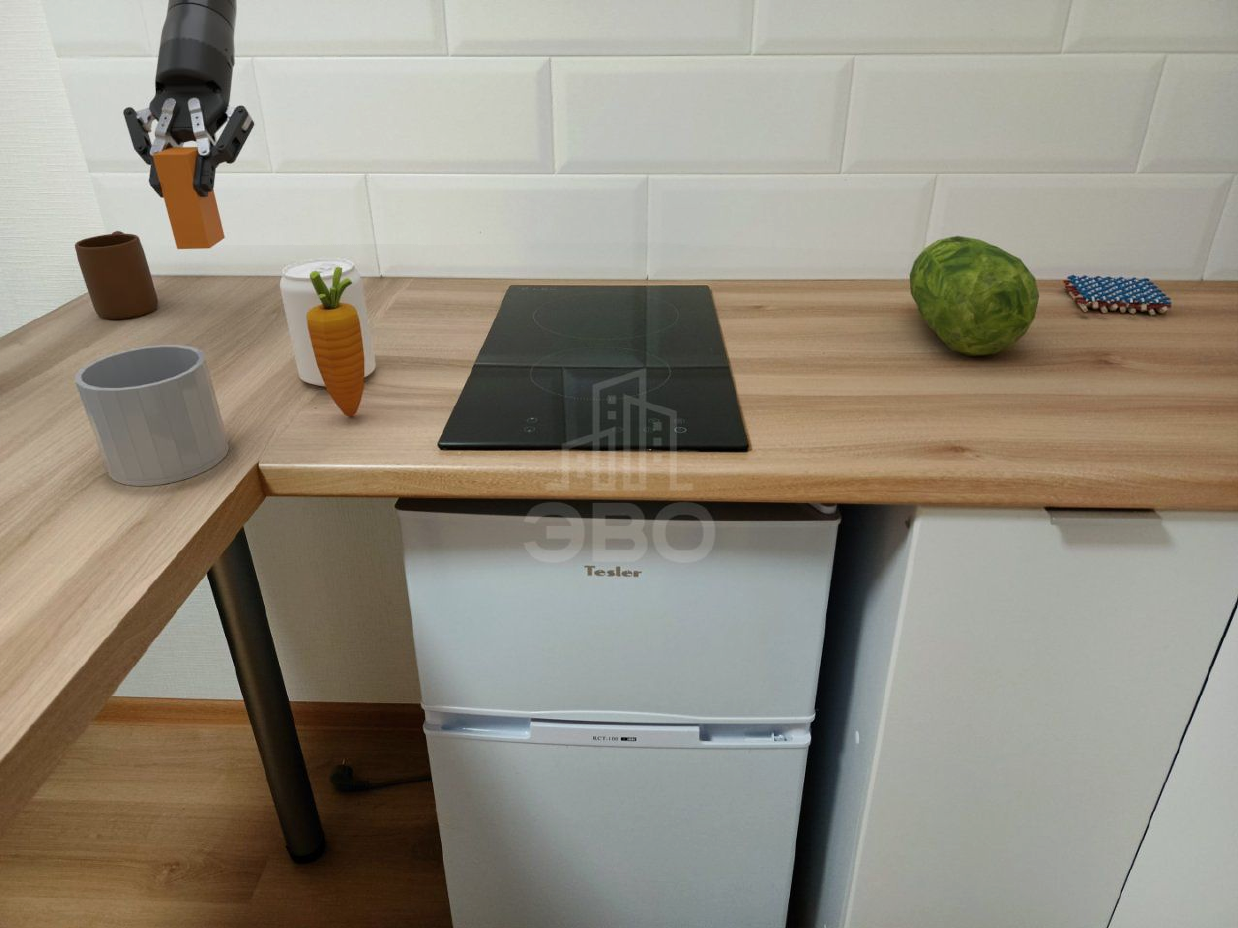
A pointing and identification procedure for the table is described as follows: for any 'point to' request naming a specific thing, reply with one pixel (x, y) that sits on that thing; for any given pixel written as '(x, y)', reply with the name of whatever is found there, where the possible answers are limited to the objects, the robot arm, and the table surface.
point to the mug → (117, 275)
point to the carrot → (337, 343)
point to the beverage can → (304, 297)
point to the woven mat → (1116, 294)
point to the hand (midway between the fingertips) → (180, 192)
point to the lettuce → (973, 294)
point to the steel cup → (153, 414)
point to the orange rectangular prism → (187, 200)
